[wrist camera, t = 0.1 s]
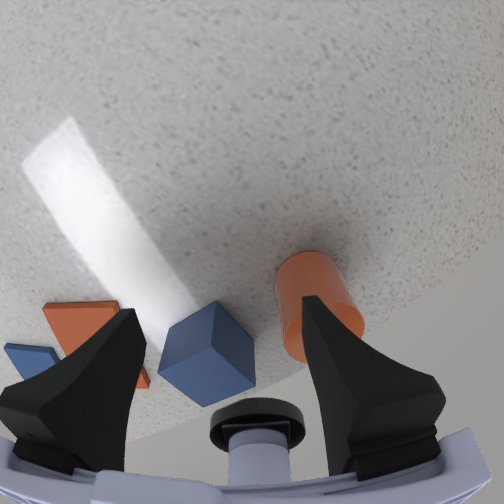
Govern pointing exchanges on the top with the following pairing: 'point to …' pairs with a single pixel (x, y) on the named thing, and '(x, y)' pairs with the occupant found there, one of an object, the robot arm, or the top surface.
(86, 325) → the terracotta mat
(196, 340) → the blue cube
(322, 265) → the terracotta cylinder
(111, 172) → the top surface
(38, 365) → the blue mat
